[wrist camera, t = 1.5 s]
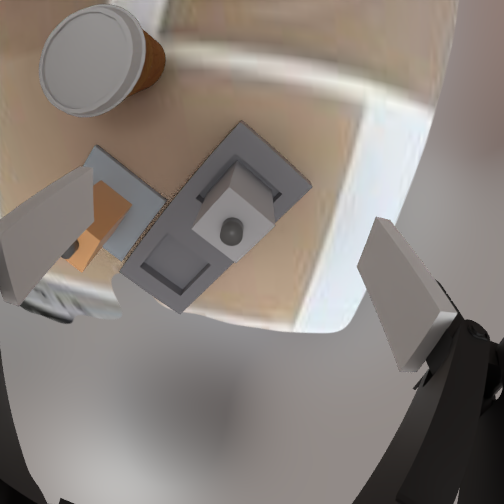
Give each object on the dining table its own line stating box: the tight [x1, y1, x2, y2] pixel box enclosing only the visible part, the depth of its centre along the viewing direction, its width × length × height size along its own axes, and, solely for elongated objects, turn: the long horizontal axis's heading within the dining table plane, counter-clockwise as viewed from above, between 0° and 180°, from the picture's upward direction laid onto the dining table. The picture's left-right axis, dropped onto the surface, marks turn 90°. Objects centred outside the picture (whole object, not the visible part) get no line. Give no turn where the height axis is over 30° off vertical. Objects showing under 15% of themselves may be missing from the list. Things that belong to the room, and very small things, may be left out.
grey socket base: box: [119, 120, 312, 314], centre depth 32 cm, size 10×24×11 cm, turn 138°
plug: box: [61, 180, 132, 272], centre depth 31 cm, size 5×5×11 cm
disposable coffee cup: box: [39, 4, 165, 117], centre depth 22 cm, size 10×10×12 cm
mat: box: [83, 145, 167, 262], centre depth 35 cm, size 11×11×1 cm
